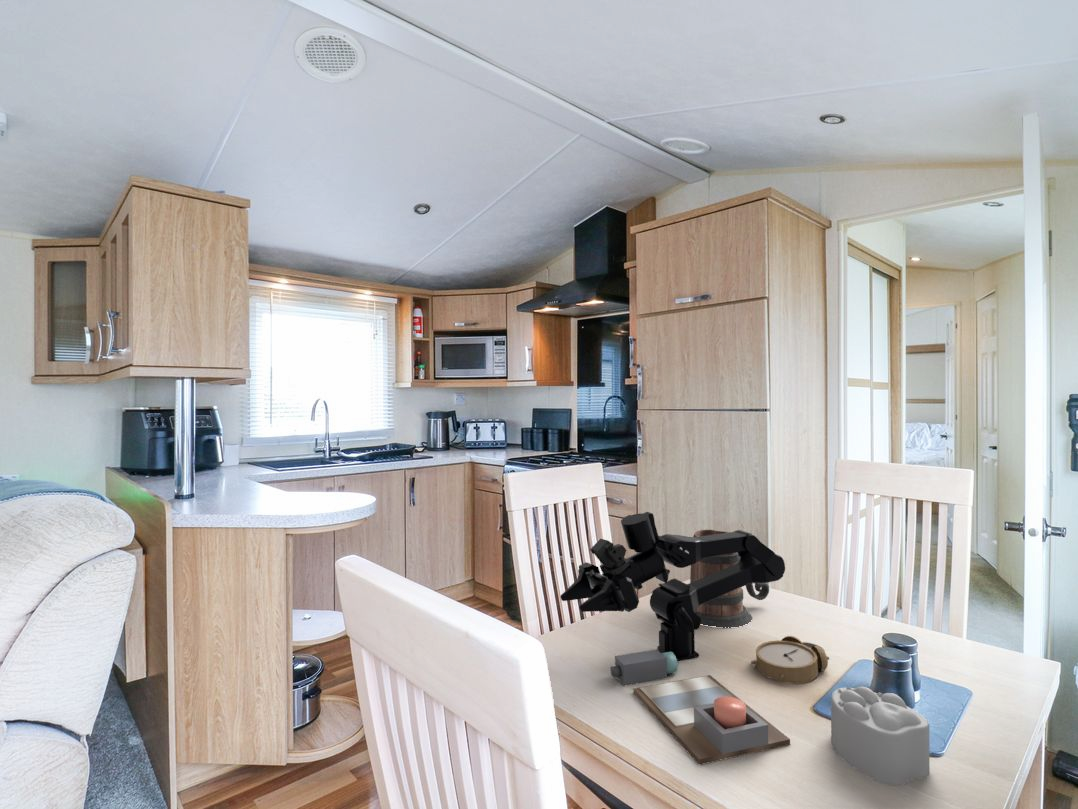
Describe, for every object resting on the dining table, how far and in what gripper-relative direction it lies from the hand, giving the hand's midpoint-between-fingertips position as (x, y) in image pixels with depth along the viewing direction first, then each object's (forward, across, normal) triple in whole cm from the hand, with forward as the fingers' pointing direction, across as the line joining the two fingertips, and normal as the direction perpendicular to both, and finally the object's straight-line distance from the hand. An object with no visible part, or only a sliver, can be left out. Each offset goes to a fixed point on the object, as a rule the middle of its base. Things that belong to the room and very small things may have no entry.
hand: (570, 603), depth 114 cm
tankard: (-43, -17, +27) cm, 53 cm away
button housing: (-9, +27, +21) cm, 35 cm away
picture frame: (-10, +20, +20) cm, 30 cm away
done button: (-10, +27, +18) cm, 34 cm away
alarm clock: (-35, +12, +28) cm, 46 cm away
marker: (-7, +4, +18) cm, 20 cm away
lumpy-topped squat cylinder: (-25, +38, +27) cm, 53 cm away
